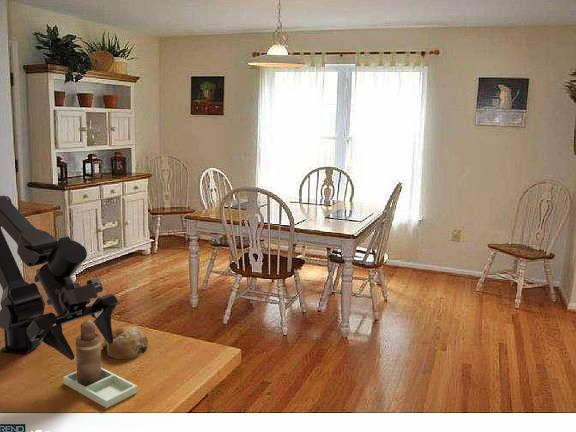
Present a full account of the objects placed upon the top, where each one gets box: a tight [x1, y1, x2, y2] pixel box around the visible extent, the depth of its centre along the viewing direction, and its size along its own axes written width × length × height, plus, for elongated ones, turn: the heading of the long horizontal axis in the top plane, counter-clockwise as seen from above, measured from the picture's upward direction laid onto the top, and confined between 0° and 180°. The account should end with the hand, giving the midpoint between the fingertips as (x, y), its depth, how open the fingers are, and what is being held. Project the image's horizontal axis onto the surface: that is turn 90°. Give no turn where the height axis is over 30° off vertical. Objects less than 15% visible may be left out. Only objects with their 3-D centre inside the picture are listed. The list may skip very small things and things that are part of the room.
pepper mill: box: [75, 319, 102, 387], centre depth 110 cm, size 5×5×14 cm
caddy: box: [63, 366, 138, 409], centre depth 109 cm, size 14×7×2 cm, turn 55°
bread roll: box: [101, 325, 149, 360], centre depth 126 cm, size 10×10×8 cm
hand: (93, 351), depth 109 cm, fingers open, 9 cm apart
